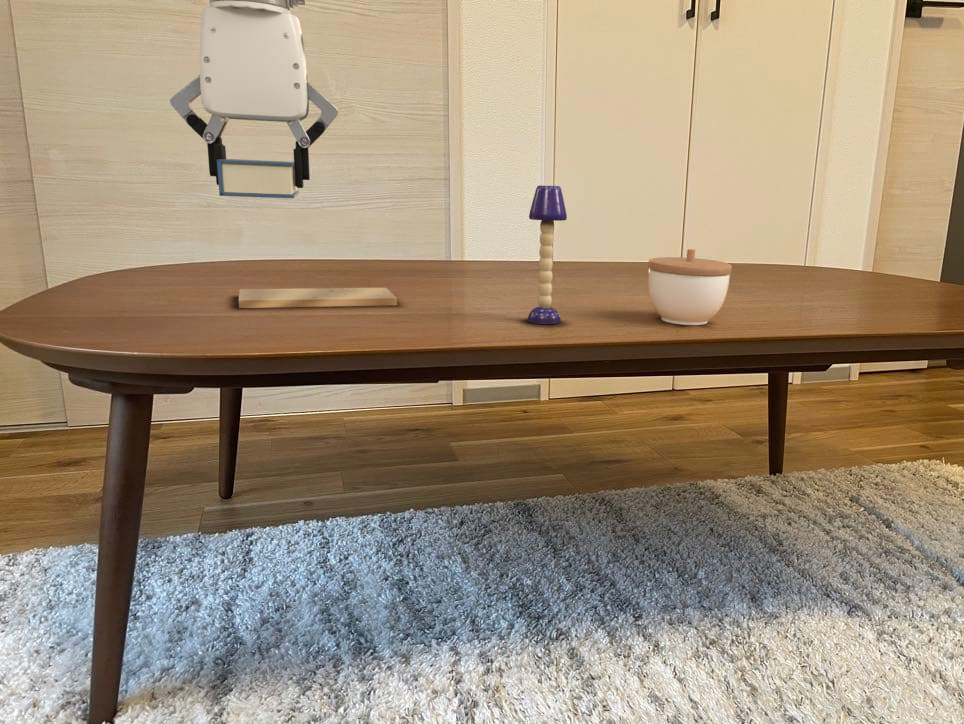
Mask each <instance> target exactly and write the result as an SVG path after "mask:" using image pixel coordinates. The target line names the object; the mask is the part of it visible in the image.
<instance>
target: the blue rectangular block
mask: <svg viewBox="0 0 964 724" xmlns="http://www.w3.org/2000/svg"><path fill="white" fill-rule="evenodd" d="M217 168H218V182H219V185H218V193H219V197H242V198H243V197H244V198H245V197H246V198H272V199H273V198H274V199H295V198H296V197H297V196H298V195H299V194H300V191H299V190H298V188H297V187H295V172H294V161H284V160H283V161H281V160H262V159H261V160H259V159H240V158H239V159H238V158H226V159H218V160H217Z"/></svg>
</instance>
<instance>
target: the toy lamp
mask: <svg viewBox="0 0 964 724" xmlns="http://www.w3.org/2000/svg"><path fill="white" fill-rule="evenodd" d="M534 191H535V192H534V195H533V199H532V202H531V206H530V211H529V214H528V218H529V220H531V221H540V225H539V230H540V236H539V243H540V246H539V249H538V250H539V257H540V258H539V261H538V269H539V272H538V281H539V285H538V294H539V297H538V301H537V303H538V306H536V307H534V308H532V309H531V310H530V312H529V313H528V316H527V322H528V323H530V324H534V325H556V324H560V323H561V322H562V320H561V316H560V313H559V312H558V310H557V309H556V308H554V307H552V305H553V299H552V298H553V297H552V293H553V284H552V282H553V278H554V277H553V275H554V274H553V272H552V270H553V265H554V263H553V262H554V261H553V255H554V247H553V244H554V233H553V232H554V230H555V221H556V222H558V221H563V222H564V221H567V218H568V215H567V209H566V205H565V200H564V195H563V190H562V187H561V186H559V185H537V186H536V188H535V190H534Z"/></svg>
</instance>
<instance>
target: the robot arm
mask: <svg viewBox="0 0 964 724" xmlns="http://www.w3.org/2000/svg"><path fill="white" fill-rule="evenodd" d="M299 5H300V6H306V0H209V6H206V7H203V9H202V14H201V24H200V37H199V75H197V76H196V77H195V78H194V79H193V80H192V81H190V82H189V83H188V84H187V85H185V86H184V87H183V88H182V89H181V90H179V91H178V92H177V93H176V94H174V95H173V96H172V97H170V99H169V104H170V105H171V107H172V108H173V109H174V110H175V111H176V112H177V113H178V114H179V115H180V117H181V118H182V119H183V120H184V122H186V124H187V125H188V126H189V127H190V128H191V129H192V130H193V131H194V132H196V134H197V135H199V137H200V138H201V139H203V141H204V142H205V143H206V145H207V157H208V171H209V177H215V182H216V185H217V186H219V182H218V168H217V160H218V159H227V149H226V145H224V144H223V138H222V136H223V133H224V131H225V129H226V127H227V125H228V123H229V121H230V120H241V121H242V120H243V121H259V122H276V123H279V122H280V123H286V124H287V126H288V127H289V129H290V131H291V133H292V135H293V136H294V138H295V148H293V150H292V151H293V162H294V172H295V187H297V189H303V188H304V185H305V184H304V181H310V180H311V179H310V178H311V177H310V175H311V174H310V154H309V153H310V151H309V148H310V147H311V146H312V145H313V144H314V143H315V142H316V141H317V140H318V139H319V138H320V137H321V136H322V135H323V134H324V133H325V131H326V130H327V129H328V128H329V127H330V126H331V125H332V123H333V122H334V121H335V119H336V118H337V117H338V116H339V110H338V108H337V107H336V106H335V105H334V104H333V103H331V102H330V101H329V100H328V99H327V98H326V97H325V96H324V95H323V94H322V93H320V92H319V91H318V90H317V89H316V88H315V87H314V86H312V85H311V83H309V82H308V69H307V60H306V49H305V43H304V42H305V41H304V36H303V32H302V27H301V22H300V19H299V18H298V17H297V16H296V15H293V14H292V9H294V8H295V7H298V6H299ZM199 97H201V104H202V107H203V109H204V110H205V112H207V113H208V114H210V115H211V117H210V119H209V121H208V123H206V122H205V120H203V119H202V117H200V116H199V115H198V114H197V112H196V111H195V110H194V109H193V108H192V102H194V101H195V100H196V99H197V98H199ZM310 103H312V104H313V105H314V106H315V107H317V109H319V110H320V115H319V116H318V118H317V119H316V121H315V122H314V123H313V124H312V125H311V126H310V127H309V128H308V129H307V130H306V129H305V127H304V126H303V123H302V122H301V121H304V120H305V119H306V118H308V116H309V112H310V111H309V110H310Z"/></svg>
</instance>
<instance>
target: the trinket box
mask: <svg viewBox="0 0 964 724" xmlns="http://www.w3.org/2000/svg"><path fill="white" fill-rule="evenodd" d="M647 268H648V278H647V279H648V280H647V285H648V287H647V288H648V296H649V300H650V303H651V305H652V308H653V309H654V311H656V312H657V314H658V315H659V316H660V317H661V318H660V319H661V321H663V322H665V323H669V324H674V325H681V326H702V325H707V324H708V322H709V320H710V319H712V318H713V317H714V316H715V315H716V314H717V313H718V312H719V311H720V310H721V308H722V306H723V305H724V303H725V300H726V297H727V294H728V290H729V286H730V279H731V273H732V270H733V266H732V264H730V263H728V262H725V261H720V260H716V259H715V260H714V259H706V258H696V249H694V248H693V249H692V248H687V250H686V257H681V256H680V257H677V256H675V257H674V256H665V257H664V256H663V257H654V258H650V259H649V260H648V267H647Z"/></svg>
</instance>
